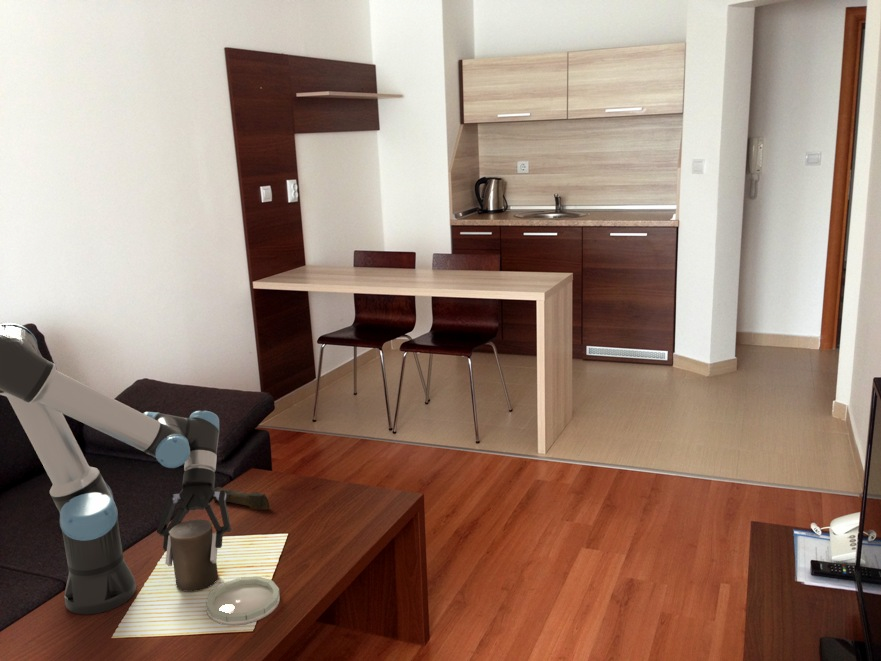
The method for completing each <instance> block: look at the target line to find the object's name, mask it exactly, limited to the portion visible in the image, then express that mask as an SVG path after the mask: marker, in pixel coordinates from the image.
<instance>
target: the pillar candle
mask: <svg viewBox="0 0 881 661" xmlns="http://www.w3.org/2000/svg"><path fill="white" fill-rule="evenodd" d="M169 533H170V540H171V548H172V557H173V561H172V566H173V570H174V571H173V572H174V578H175V579H174V580H175V586H176V585H177V586H176V588H177V589H178V588H179V589H178V590H180V589H181V590H180V591H184V592H198V591H202V590H205V589H208V588H209V587H211V586H213V585H214V584H215V583H216V582H217V581H218V579H219V573H218V565H217V564H218V562H216V563H212V562H211V561H210V558H211V546H212V534H213V533H214V531H213V523H212V522H210V521H209V520H207V519H206V520H205V519H199V518H198V519H197V518H194V519H188V520H186V521H182V522H181V523H179V524H177V525H176V526H174V527H173V528H172V529H171V530H170V531H169ZM216 580H217V581H216ZM215 581H216V582H215ZM214 582H215V583H214Z"/></svg>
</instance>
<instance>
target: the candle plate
mask: <svg viewBox="0 0 881 661" xmlns="http://www.w3.org/2000/svg"><path fill="white" fill-rule="evenodd" d="M280 596H281V595H280V587H278V585H277V584H276V583H275V581H273V580H272V579H269V578H267V577H266V578H265V577H262V576H244V577H238V578H235V579H232V580H228V581H225V582H223V583H221V584H220V585H218V586H217V587H215V589H213V590H212V591H211V592H210V593H209V595H208V596H207V598H206V599H207V600H206V601H205V608H206V614H207V616H208V617H209V618H210V619H211V620H212V621H213V622H215V623H218V624H221V625H225V626H242V625H247V623H248V624H252V623H254V622H257V621H259V620H262V619H264V618H266V617H267V616H269V615H270V614H272V612H274V611H275V610H276V609H277V608H278V606H279V603H280V601H281V600H280V599H281V597H280ZM225 604H233V605H234V606H235V609H234V612H233V613H231V614H229V613H225V612H222V611H219V608H220V607H221V606H222V605H225Z"/></svg>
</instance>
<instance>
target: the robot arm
mask: <svg viewBox="0 0 881 661" xmlns="http://www.w3.org/2000/svg"><path fill="white" fill-rule="evenodd" d="M0 396H4V397H5V398H7V400H8V401H9V403H10V406H11V407H12V409H13V411H14V414H15V415H16V416H17V419H18V420H19V422H20V425H21V426H22V428H23V430H24V432H25V433H26V435H27V437H28V439H29V442H30V443H31V445H32V447H33V449H34V451H35V452H36V455H37V457H38V459H39V461H40V462H41V464H42V465H43V466H42V467H43V468H44V470H45V472H46V474H47V476H48V477H49V479H50V482H51V484H52V486H51V487H50V490H49V494H50V498H52V500H53V503H54V505H55V507H56V508H57V510H58V512H59V526H60V529H61V531H62V532H61V533H62V538H63V544H64V550H65V551H64V552H65V556H66V561H67V570H68V575H67V581H66V586H65V590H64V604H65V608H66V609H67V610H68V611H69V612H71V613H73V614H75V615H76V614H77V615H95V614H96V615H97V614H101V613H104V612H108V611H111V610H113V609H116V608H118V607H120V606H122V605H123V604H125V603H126V602H127V601H129V600H130V599H131V598H132V597H133V596H134V594H135V593H136V589H137V585H136V579H135V576H134V574H133V573H132V571H131V569H130V567H129V566H128V564H127V562H126V560H125V559H124V553H123V552H124V551H123V546H122V540H121V532H120V526H119V524H120V523H119V519H118V517H119V516H118V514H119V513H118V507H117V506H116V503H115V501H114V500H115V499H114V495H113V492H112V489H111V487H110V486H109V485H108V483H107V482H106V481H105V480H104V478H103V476H102V474H101V473H100V470H99V469H98V468H97V467H93V466H90V465H89V463H88V462H87V459H86V457H85V456H84V453H83V451H82V449H81V447H80V445H79V444H78V441H77V440H76V438H75V436H74V434H73V432H72V430H71V428H70V425H69V424H68V422H67V420H66V418H65V416H67V417H69V418H71V419H74V420H76V421H78V422H81V423H83V424H84V425H86V426H88V427H91V428H93V429H95V430H97V431H98V432H101V433H103V434H106V435H107V436H110V437H112V438H114V439H116V440H117V441H120V442H122V443H125V444H127V445H128V446H131V447H134V448H135V449H137V450H139V451H142V452H144V453H145V454H147V455H149V456H152V457H153V458H156V461H157V462H158V463H159V464H160V465H161V466H162V467H165V468H168V469H176V468H179V467H181V466H184V467H183V470H184V472H183V475H182V476H183V477H182V486H181V491H179V493H174V494H173V493H172V492H169V493H168V494H167V503H166V506H165V508H164V511H163V513H162V516H161V518H160V521H159V523H158V525H157V529H156V533H157V534H158V535H159V536H160V537H163V543H162V544H163V546H162V549H163V551H164V552H166V555H165V565H167V566H168V567H173V557H172V548H171V540H170V533H169V531H170V530H171V529H172V528H173V527H174V526H176V525H177V524H179V523H182V522H183V519H184V518H185V517H186V515H188V513H189V512H190V511H195V510H201V511H203V510H204V509H205V512H206V513H207V516H208V517H209V519H210V521H211V524H212V526H213V528H214V530H215V531H216V532H213V534H212V546H211V558H210V561H211V562H212V563H217V558H218V557H217V556H218V549H221V548H222V547H223V536H224V534H225V533H230V532H231V531H232V527H231V526H232V525H231V522H230V517H229V513H228V507H227V502H226V498H227V494H226V493H225V491H224V490H221V491H220V492H215V491H214V489H215V484H216V483H215V481H216V473H215V472H216V469H217V455H218V445H219V435H220V418H219V415H217V414H216V413H214V412H212V411H208V410H196V411H193V412H192V413H191V414H190V415H189V417H182V416H178V415H171V414H165V413H160V412H159V411H158V412H154V411H145V412H143V413H142V412H140V411H139V410H137V409H135V408H132V407H131V406H129V405H127V404H125V403H122V402H121V401H119V400H116V399H114V398H112V397H111V396H109V395H107V394H104V393H103V392H101V391H99V390H96V389H95V388H92V387H91V386H89V385H86V384H85V383H83V382H81V381H79V380H77V379H74V378H73V377H71V376H68V374H65V373H63V372H61V371H59V370H57V366H56V364H55V363H53V362H52V361H49V360H47V359H46V358H44V357H43V355H42V354H41V352H40V350H39V345H38V340H37V338H36V337H35V335H34V333H32V331H30V330H29V329H28V328H27V327H25V326H23V325H21V324H17V323H12V322H4V323H0ZM214 497H216V498H217V500H216V501H217V502H218V501H219V502H218V504H219V509H220V514H221V519H222V524H223V526H221V524H220V522H219V520H218V518H217V516H216V514H215V513H214V510H213V508H212V506H211V502H213V501H214V500H213V499H214ZM179 500H181V501H182V502H181V505H180V506H179V509H178V510H177V512H176V513H175V515H174V517H173V518H172V515H173V513H174V510H175V507H176V504H178V502H179ZM171 518H172V520H171Z"/></svg>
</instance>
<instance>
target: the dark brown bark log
mask: <svg viewBox="0 0 881 661" xmlns="http://www.w3.org/2000/svg"><path fill="white" fill-rule="evenodd" d="M221 490H224V491H225V493H226V494H227V498H226V503H227V502H228V503H232V504H237V505H242V506H247V507H249V508H250V509H251V510H270V501H269V499H268V497H267V495H266V494H265V493H262V492H261V493H260V492H258V491H252V492H250V493H247V492H242V491H235V490H232V489H227V488H222V486H217V487H214V491H215V492H220V491H221ZM212 501H217V502H218V503H219V501H218V500H217V498H216V497H214V499H213V500H212Z"/></svg>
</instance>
